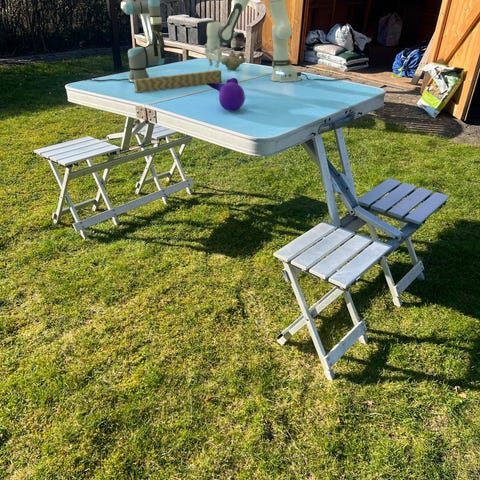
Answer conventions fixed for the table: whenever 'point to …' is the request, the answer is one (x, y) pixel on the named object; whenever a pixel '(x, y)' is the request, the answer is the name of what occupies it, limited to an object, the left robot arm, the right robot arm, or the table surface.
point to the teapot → (233, 61)
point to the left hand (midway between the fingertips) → (159, 57)
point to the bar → (177, 81)
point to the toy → (230, 94)
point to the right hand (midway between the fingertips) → (214, 66)
